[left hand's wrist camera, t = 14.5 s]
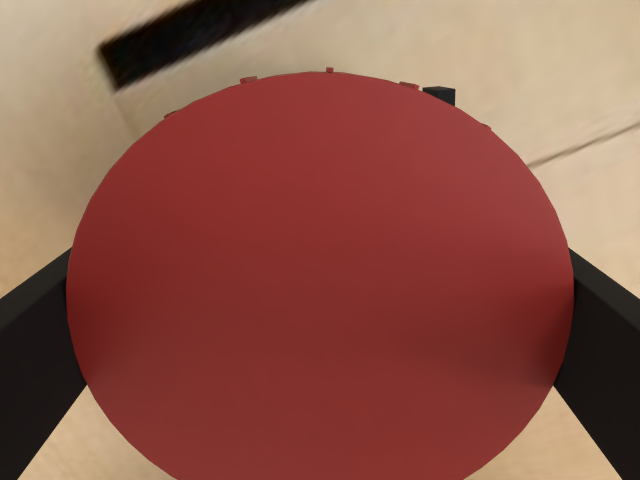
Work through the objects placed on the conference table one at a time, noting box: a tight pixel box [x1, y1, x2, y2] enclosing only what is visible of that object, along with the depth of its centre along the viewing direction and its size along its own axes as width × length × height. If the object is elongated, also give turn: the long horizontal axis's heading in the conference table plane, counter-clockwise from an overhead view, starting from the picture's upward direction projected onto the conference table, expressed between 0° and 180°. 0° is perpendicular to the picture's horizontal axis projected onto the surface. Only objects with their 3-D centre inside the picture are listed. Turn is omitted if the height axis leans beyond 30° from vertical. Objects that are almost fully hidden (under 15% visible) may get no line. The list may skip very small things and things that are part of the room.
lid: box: [66, 68, 574, 480], centre depth 11 cm, size 11×11×2 cm
